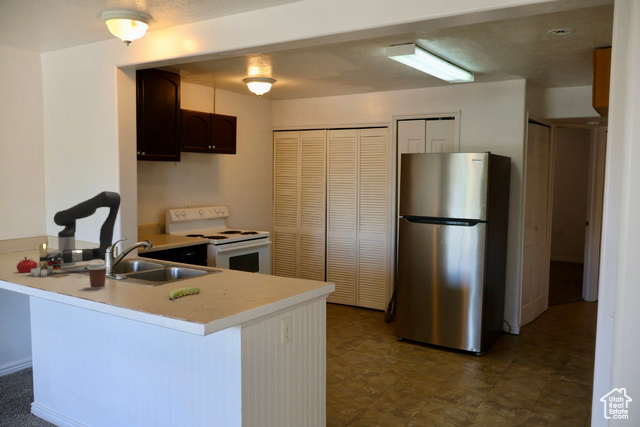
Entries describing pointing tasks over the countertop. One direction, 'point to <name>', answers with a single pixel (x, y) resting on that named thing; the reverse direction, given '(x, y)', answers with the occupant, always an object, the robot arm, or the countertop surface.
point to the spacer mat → (42, 272)
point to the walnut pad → (59, 275)
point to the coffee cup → (97, 274)
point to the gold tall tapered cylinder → (43, 254)
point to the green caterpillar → (183, 291)
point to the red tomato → (26, 266)
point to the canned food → (54, 264)
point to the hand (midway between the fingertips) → (39, 258)
